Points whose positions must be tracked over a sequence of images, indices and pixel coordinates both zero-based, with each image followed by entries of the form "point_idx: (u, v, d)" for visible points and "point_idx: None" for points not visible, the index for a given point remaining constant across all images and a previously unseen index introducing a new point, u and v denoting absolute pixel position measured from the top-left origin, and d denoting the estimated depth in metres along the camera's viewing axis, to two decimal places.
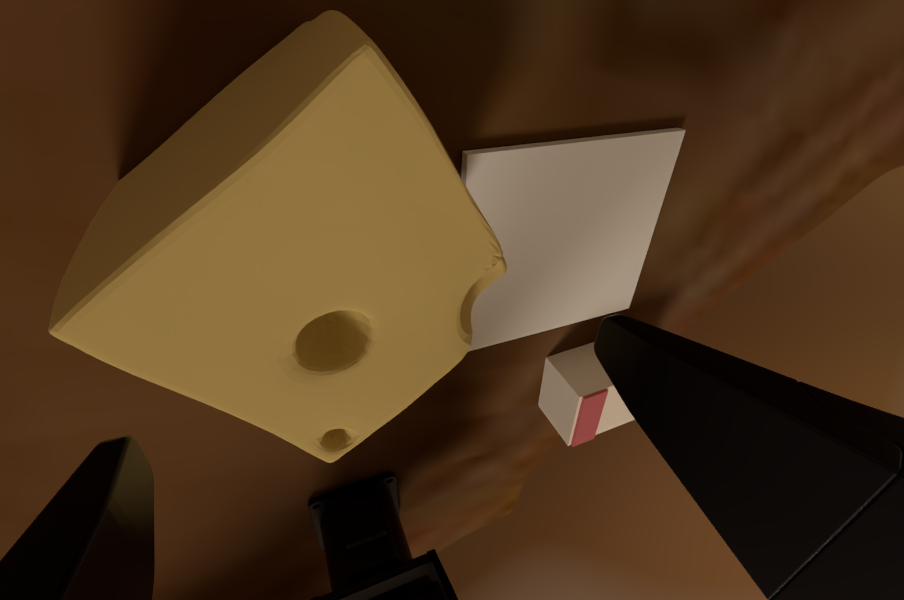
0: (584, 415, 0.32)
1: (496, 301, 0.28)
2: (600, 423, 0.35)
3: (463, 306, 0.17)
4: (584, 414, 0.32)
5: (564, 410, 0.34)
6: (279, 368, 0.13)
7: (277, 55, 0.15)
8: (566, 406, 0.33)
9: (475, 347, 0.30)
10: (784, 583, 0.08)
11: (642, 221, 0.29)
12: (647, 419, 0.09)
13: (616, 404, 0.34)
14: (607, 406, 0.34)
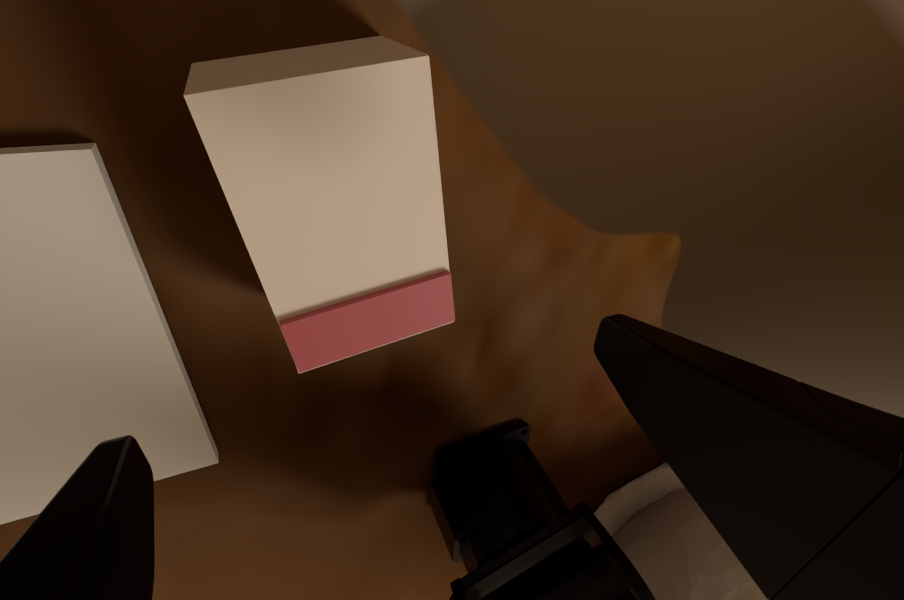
0: (355, 345, 0.15)
1: None
2: (411, 266, 0.14)
3: None
4: (351, 347, 0.15)
5: None
6: None
7: None
8: None
9: (206, 446, 0.20)
10: (784, 583, 0.08)
11: None
12: (647, 419, 0.09)
13: (346, 255, 0.13)
14: (351, 278, 0.13)
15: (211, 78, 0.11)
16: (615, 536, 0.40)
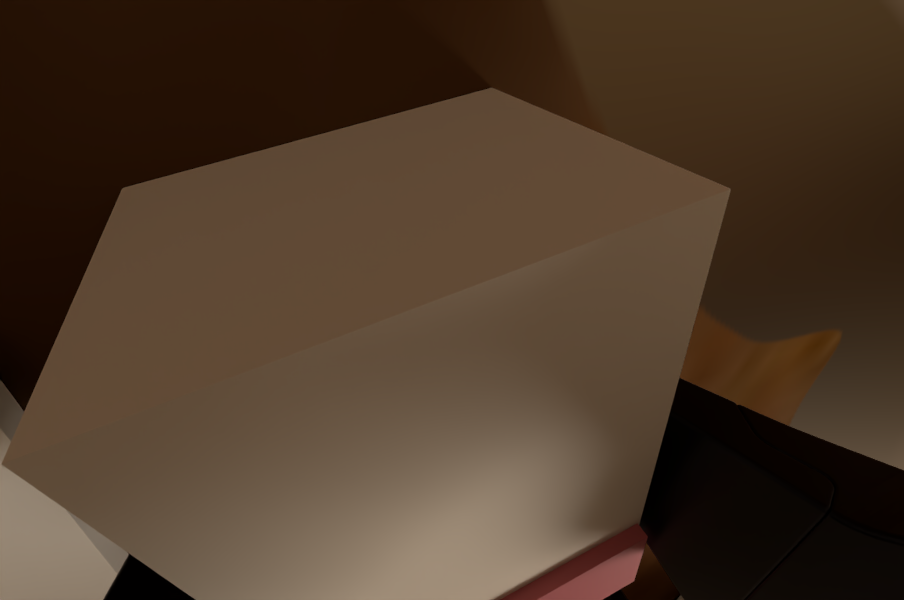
0: None
1: None
2: (580, 542, 0.07)
3: None
4: None
5: None
6: None
7: None
8: None
9: None
10: None
11: None
12: None
13: (468, 572, 0.06)
14: (472, 597, 0.07)
15: (133, 300, 0.04)
16: None
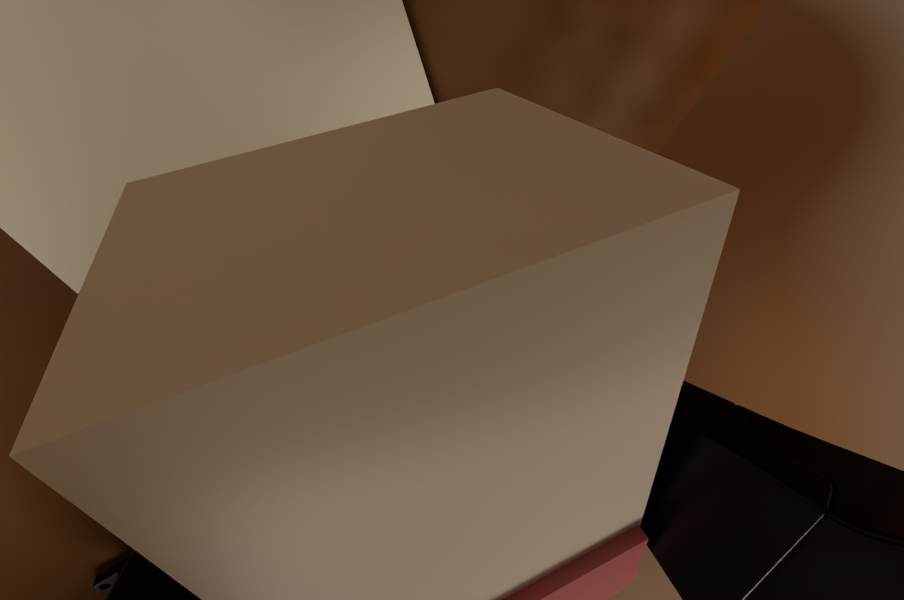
0: None
1: None
2: (581, 543, 0.07)
3: None
4: None
5: None
6: None
7: None
8: None
9: None
10: None
11: (361, 3, 0.14)
12: None
13: (470, 573, 0.06)
14: (473, 597, 0.07)
15: (140, 293, 0.04)
16: None
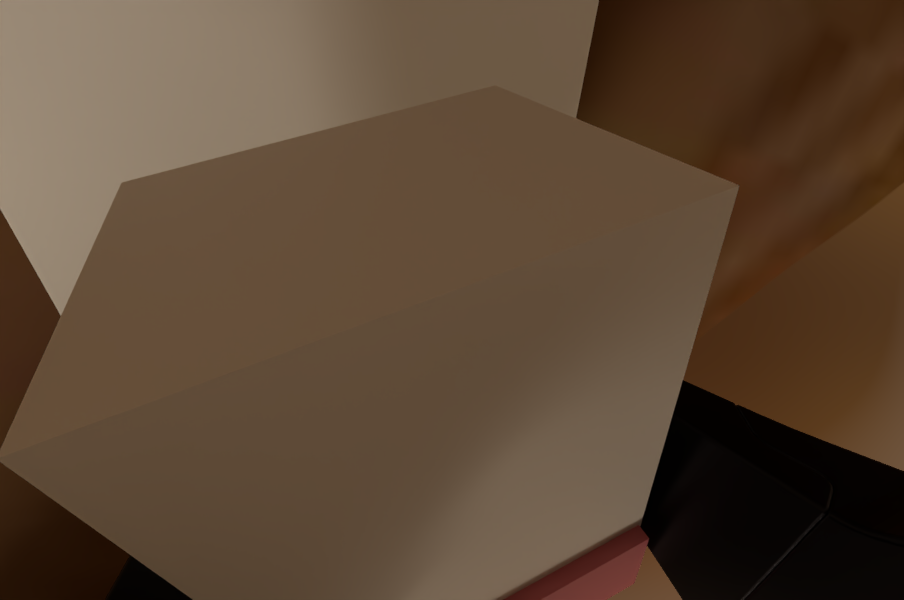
0: None
1: None
2: (581, 543, 0.07)
3: None
4: None
5: None
6: None
7: None
8: None
9: None
10: None
11: None
12: None
13: (469, 574, 0.06)
14: (471, 598, 0.07)
15: (132, 293, 0.04)
16: None
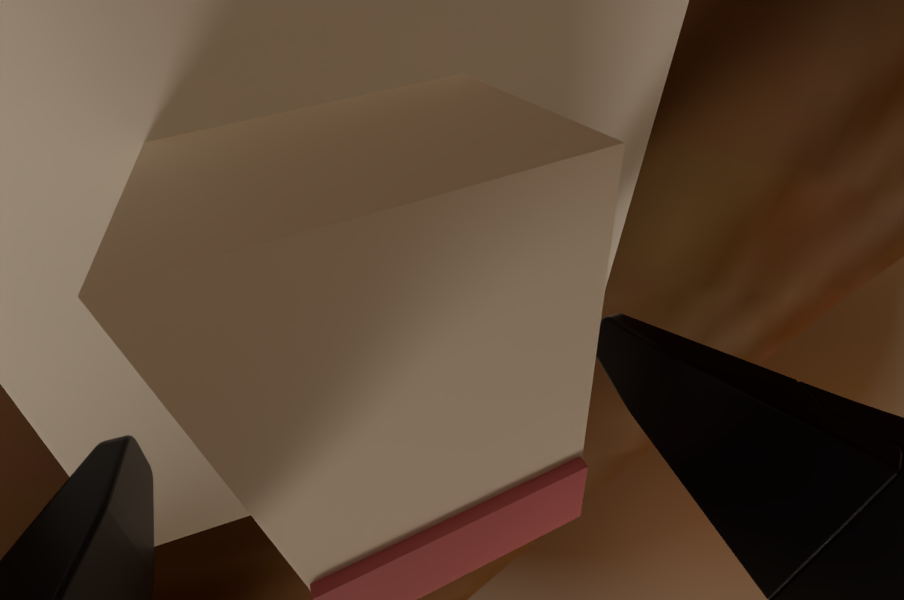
0: (431, 584, 0.09)
1: None
2: (527, 466, 0.08)
3: None
4: (425, 587, 0.09)
5: None
6: None
7: None
8: None
9: (179, 534, 0.12)
10: (784, 583, 0.08)
11: None
12: (647, 419, 0.09)
13: (427, 478, 0.07)
14: (431, 504, 0.08)
15: (163, 210, 0.05)
16: None
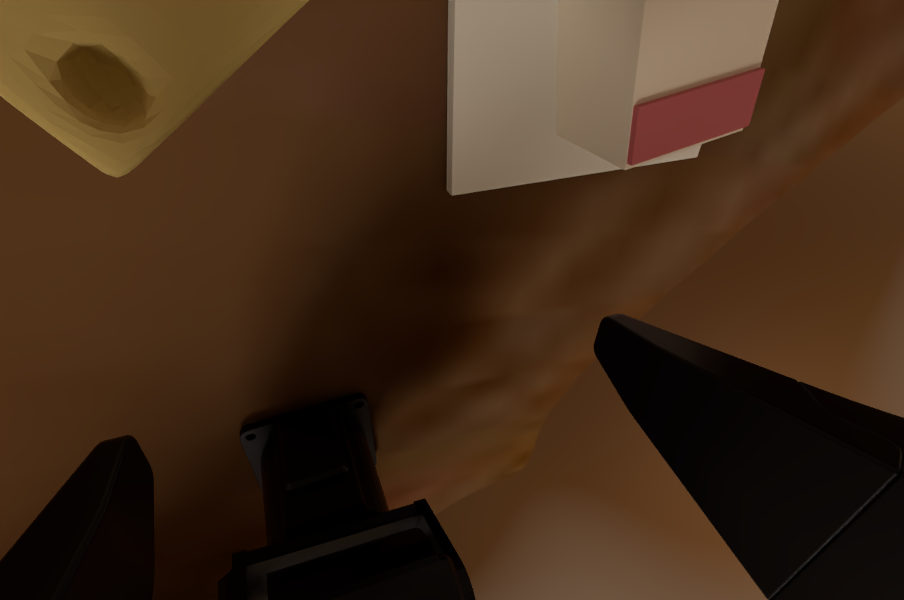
0: (676, 141, 0.16)
1: (510, 101, 0.18)
2: (737, 59, 0.15)
3: None
4: (673, 143, 0.16)
5: None
6: None
7: None
8: None
9: (478, 187, 0.20)
10: (784, 584, 0.08)
11: None
12: (647, 419, 0.09)
13: (701, 37, 0.14)
14: (694, 65, 0.15)
15: None
16: None
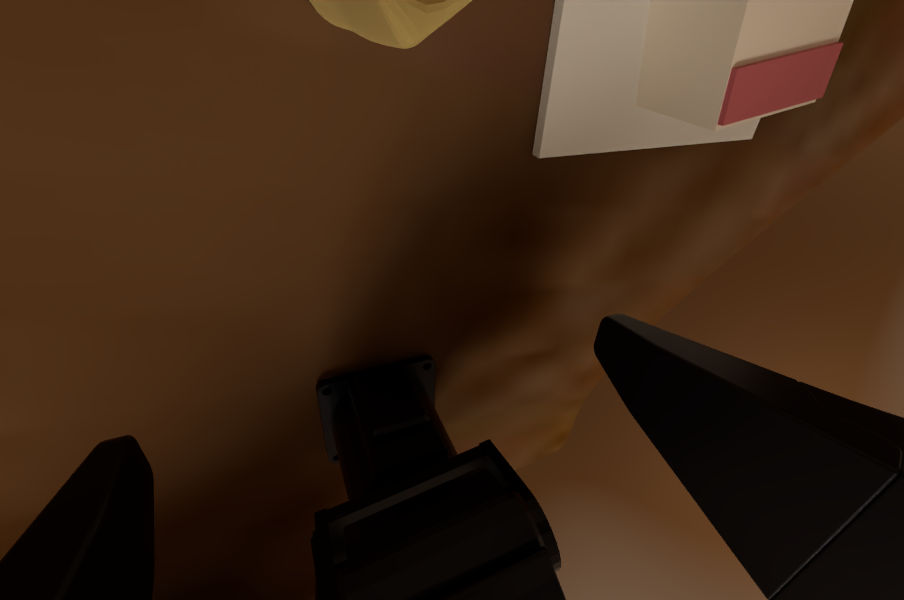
0: (762, 105, 0.18)
1: (601, 70, 0.19)
2: (821, 31, 0.17)
3: None
4: (759, 107, 0.18)
5: None
6: None
7: None
8: None
9: (562, 152, 0.21)
10: (784, 583, 0.08)
11: None
12: (647, 419, 0.09)
13: (795, 7, 0.16)
14: (785, 34, 0.16)
15: None
16: None
